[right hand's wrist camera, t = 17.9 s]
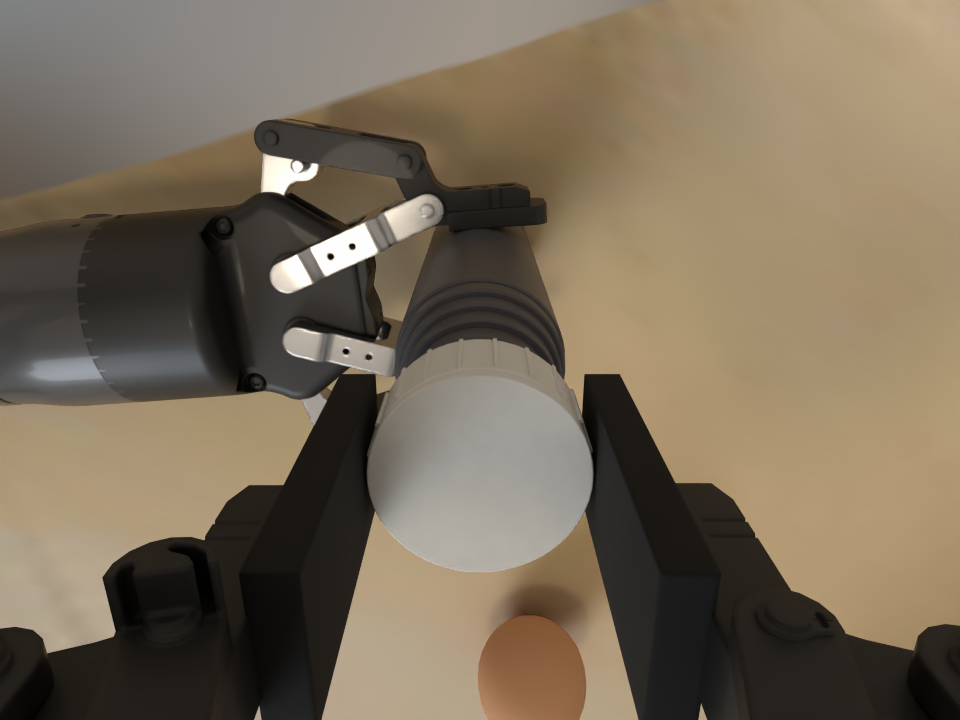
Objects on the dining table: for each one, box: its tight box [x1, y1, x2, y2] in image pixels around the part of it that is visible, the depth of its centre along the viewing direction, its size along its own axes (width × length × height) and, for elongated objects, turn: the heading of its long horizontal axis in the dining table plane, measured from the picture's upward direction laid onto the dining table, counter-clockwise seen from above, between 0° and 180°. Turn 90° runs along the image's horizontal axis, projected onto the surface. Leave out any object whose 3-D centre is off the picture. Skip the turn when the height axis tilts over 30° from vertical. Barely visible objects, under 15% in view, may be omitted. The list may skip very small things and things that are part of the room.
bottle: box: [395, 225, 565, 380], centre depth 23 cm, size 5×5×21 cm
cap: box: [367, 338, 594, 572], centre depth 14 cm, size 4×4×2 cm
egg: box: [478, 615, 586, 720], centre depth 37 cm, size 6×6×8 cm
